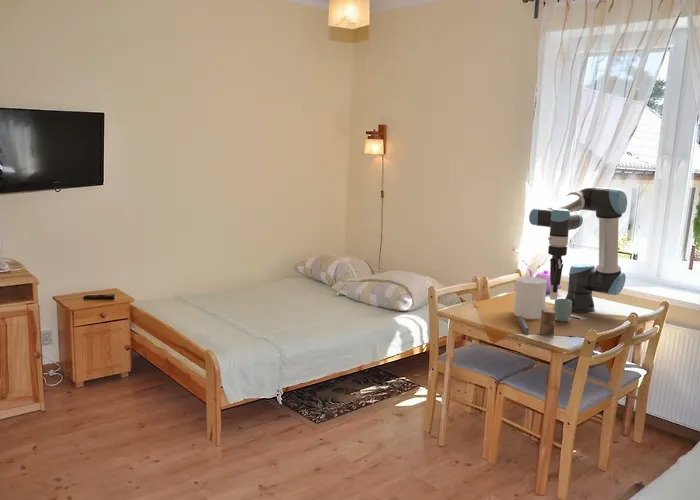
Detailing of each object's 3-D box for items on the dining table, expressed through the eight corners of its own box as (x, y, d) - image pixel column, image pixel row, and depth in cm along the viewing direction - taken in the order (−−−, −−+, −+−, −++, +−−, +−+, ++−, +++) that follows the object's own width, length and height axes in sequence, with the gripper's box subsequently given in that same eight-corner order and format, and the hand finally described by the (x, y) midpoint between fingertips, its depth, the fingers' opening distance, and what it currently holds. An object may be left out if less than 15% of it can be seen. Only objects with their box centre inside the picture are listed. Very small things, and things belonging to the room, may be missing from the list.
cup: (550, 318, 300) (552, 298, 298) (566, 318, 301) (567, 298, 299) (557, 323, 292) (559, 303, 290) (573, 323, 293) (574, 302, 291)
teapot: (521, 291, 351) (523, 269, 349) (530, 286, 362) (531, 265, 360) (556, 296, 340) (558, 274, 337) (564, 291, 351) (566, 270, 349)
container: (517, 309, 315) (519, 275, 312) (546, 313, 309) (548, 278, 305) (511, 316, 302) (513, 281, 299) (541, 321, 296) (544, 284, 293)
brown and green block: (551, 332, 278) (552, 309, 276) (553, 336, 273) (555, 312, 271) (539, 332, 279) (541, 309, 277) (542, 335, 274) (544, 312, 272)
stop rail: (521, 322, 293) (521, 316, 293) (528, 334, 276) (528, 327, 275) (517, 321, 293) (518, 315, 293) (525, 334, 276) (525, 327, 275)
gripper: (545, 242, 267) (541, 294, 272) (552, 247, 255) (548, 302, 259) (563, 243, 267) (558, 295, 271) (571, 248, 254) (566, 303, 258)
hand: (553, 299), depth 265 cm, fingers closed
